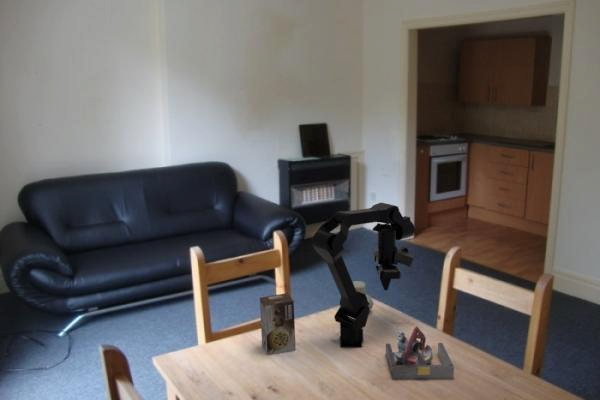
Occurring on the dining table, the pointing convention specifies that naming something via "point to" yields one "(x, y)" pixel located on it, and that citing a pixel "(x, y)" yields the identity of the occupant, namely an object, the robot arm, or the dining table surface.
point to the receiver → (421, 367)
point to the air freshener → (363, 291)
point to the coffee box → (277, 323)
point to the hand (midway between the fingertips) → (385, 289)
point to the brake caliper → (413, 348)
